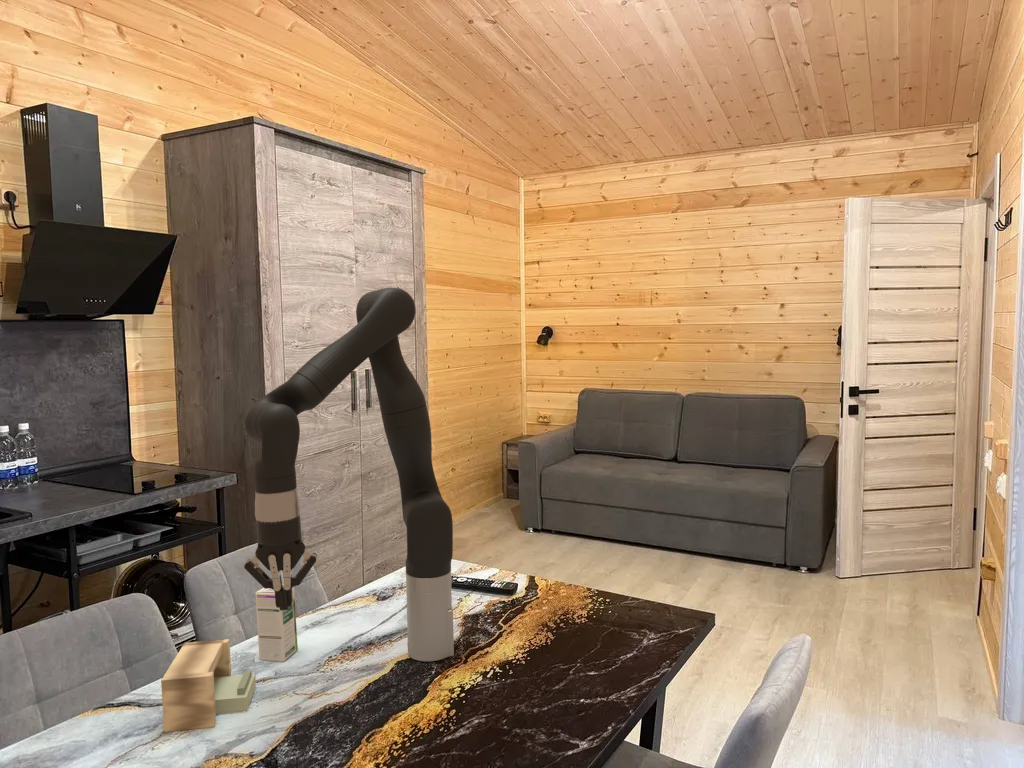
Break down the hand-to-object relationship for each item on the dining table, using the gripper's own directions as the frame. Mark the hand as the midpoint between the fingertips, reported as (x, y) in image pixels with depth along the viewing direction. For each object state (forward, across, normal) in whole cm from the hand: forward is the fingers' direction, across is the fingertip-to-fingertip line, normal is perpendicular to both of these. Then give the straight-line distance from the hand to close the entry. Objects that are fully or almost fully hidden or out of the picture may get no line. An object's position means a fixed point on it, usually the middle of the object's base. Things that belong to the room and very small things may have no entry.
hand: (284, 608), depth 134 cm
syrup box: (+17, +4, -19) cm, 26 cm away
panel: (+17, +13, -2) cm, 21 cm away
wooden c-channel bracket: (+17, +16, -1) cm, 23 cm away
